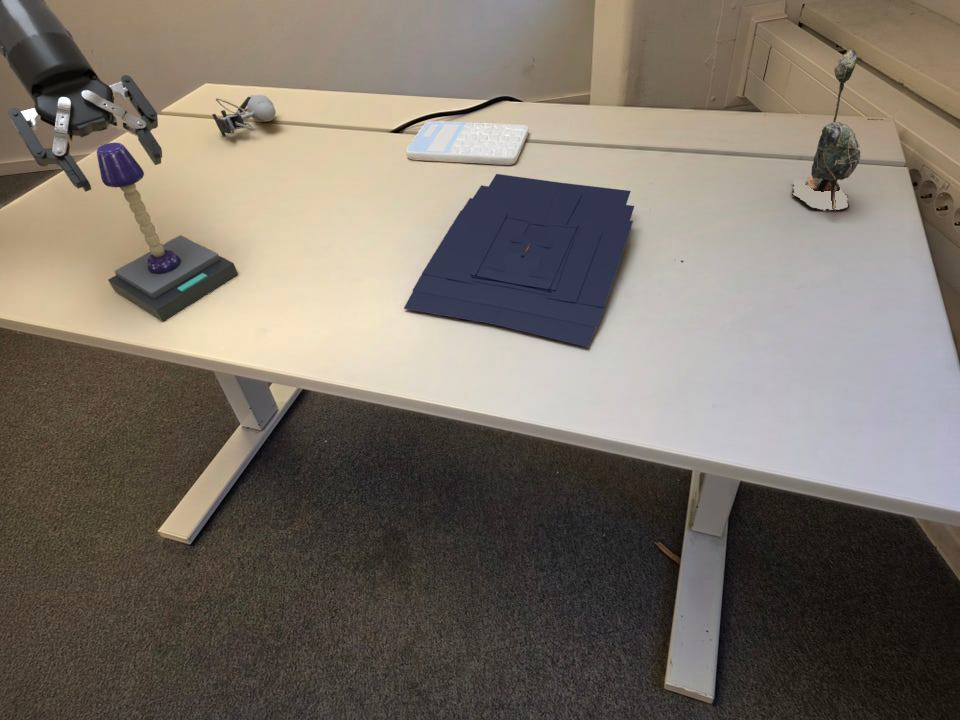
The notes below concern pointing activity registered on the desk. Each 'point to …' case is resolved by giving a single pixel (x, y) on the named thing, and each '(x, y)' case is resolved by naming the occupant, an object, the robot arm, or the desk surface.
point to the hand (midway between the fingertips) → (123, 174)
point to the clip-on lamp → (257, 109)
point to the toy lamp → (134, 201)
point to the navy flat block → (529, 258)
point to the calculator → (468, 142)
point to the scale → (173, 279)
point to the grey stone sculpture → (836, 142)
